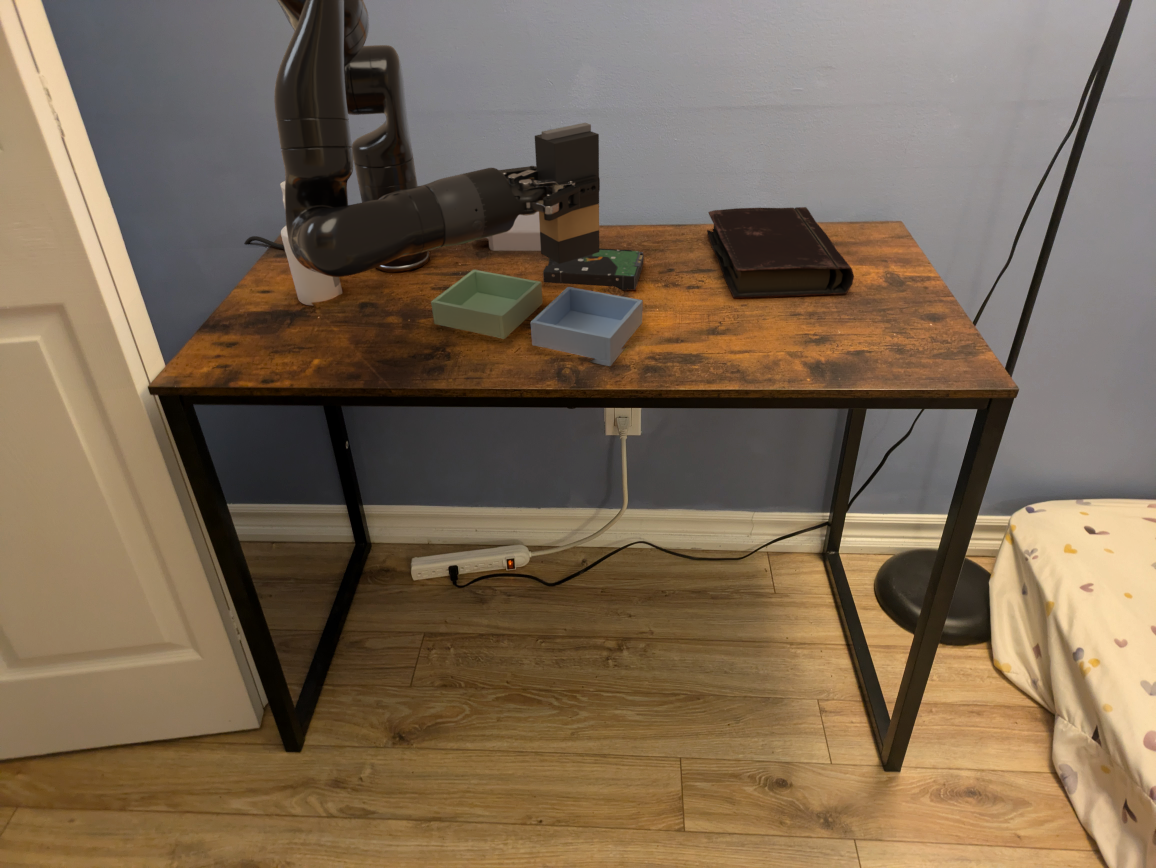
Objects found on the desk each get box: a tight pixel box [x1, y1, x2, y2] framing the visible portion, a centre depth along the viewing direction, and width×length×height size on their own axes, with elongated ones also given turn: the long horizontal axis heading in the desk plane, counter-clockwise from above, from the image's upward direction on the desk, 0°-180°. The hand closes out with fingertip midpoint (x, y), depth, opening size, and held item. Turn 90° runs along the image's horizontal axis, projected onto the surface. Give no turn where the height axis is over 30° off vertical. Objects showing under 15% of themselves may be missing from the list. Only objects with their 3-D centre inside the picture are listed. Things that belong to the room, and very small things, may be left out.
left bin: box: [430, 269, 544, 340], centre depth 112 cm, size 12×12×4 cm
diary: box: [706, 206, 855, 299], centre depth 124 cm, size 19×25×5 cm
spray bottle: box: [279, 180, 343, 307], centre depth 115 cm, size 7×7×18 cm
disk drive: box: [542, 248, 645, 291], centre depth 123 cm, size 10×3×15 cm
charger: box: [477, 212, 541, 252], centre depth 134 cm, size 5×9×15 cm
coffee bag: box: [534, 122, 600, 264], centre depth 96 cm, size 4×6×16 cm
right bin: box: [529, 286, 644, 367], centre depth 106 cm, size 12×12×4 cm
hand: (585, 178), depth 96 cm, fingers closed on coffee bag, 4 cm apart
